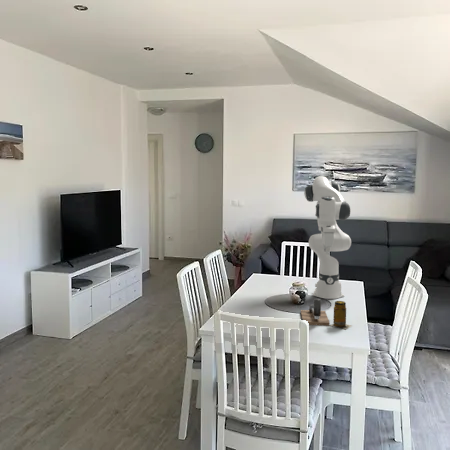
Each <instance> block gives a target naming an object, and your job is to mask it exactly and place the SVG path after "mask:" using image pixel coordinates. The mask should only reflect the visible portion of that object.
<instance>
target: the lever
mask: <svg viewBox="0 0 450 450" xmlns="http://www.w3.org/2000/svg"><path fill="white" fill-rule="evenodd" d="M308 306H309V307H308V308H309V309H308V310H309V311H310V312H312V314H313V316H314V319H319V317H320V316H321V311H322V298H314V299H313V304H309V305H308Z"/></svg>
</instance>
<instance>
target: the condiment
mask: <svg viewBox="0 0 450 450" xmlns="http://www.w3.org/2000/svg"><path fill="white" fill-rule="evenodd" d="M332 321H333V323H332V324H330V325H329V326H331V327H334V328H339V329H343V330H347V329H349V328H352V327H353V325H350V324H347V306H346V302H345V301H344V300H336V301H334V306H333V320H332Z"/></svg>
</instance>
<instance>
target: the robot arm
mask: <svg viewBox="0 0 450 450" xmlns="http://www.w3.org/2000/svg"><path fill="white" fill-rule="evenodd" d="M303 196H304V198H305V199H306V201H307V202H316V205H315V217H316V220H317V226H318V231H319V232H320V233H315V234H312V235H310V237H309V239H308V246H309V248H310V250H312V251H313V252H314V253H315V255H316V256H317V258H318V260H319V274H318V279H319V280H318V281H317V282H316V283H315V284H314V287H315V289H314V291H313V293H312V296H313V297H318V298H319V299H329V300H333V299H334V300H336V299H340V298H342V297H343V298H344V297H345V294H344V293H342V282H340V273H339V267H340V266H339V264H340V263H339V261H338V259H337V258H336V257H334V256H332V255H330V254H331V253H330V252H344V251H348V250H349V249H350V248H351V246H352V239H351V237H350V235H349V234H347V233H346V232H343V230H341V228H340V227H339V225H338V224H337V223H338V222H337V220H339V221H346V220H347V219H348V218H350V216H351V206H350V205H349V204H350V203H348V202H347V201H346V200H345V198H344V197H343V195H342V193H341V187H340V185H339V182H337V181H334V180H333V181H330V180H329V179H328V178H327V177H326V176H323V175H319V176H317V177H316V178H315V179H314V180H313V183H312V184H309V185H307V186H306V187H304V191H303Z"/></svg>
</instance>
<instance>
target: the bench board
mask: <svg viewBox="0 0 450 450" xmlns="http://www.w3.org/2000/svg"><path fill="white" fill-rule="evenodd" d="M300 316H301V320H302V319H303V320H306V321H308V323H309V325H308V326H326V327H327V326H328V327H329V326H330V325H331V324H330V321H329V317H328V314H327V313H326V310H321V316H320V317H319V319H314V316H313V314H312V312H310V311H309V309H307V310H306V309H300Z"/></svg>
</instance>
